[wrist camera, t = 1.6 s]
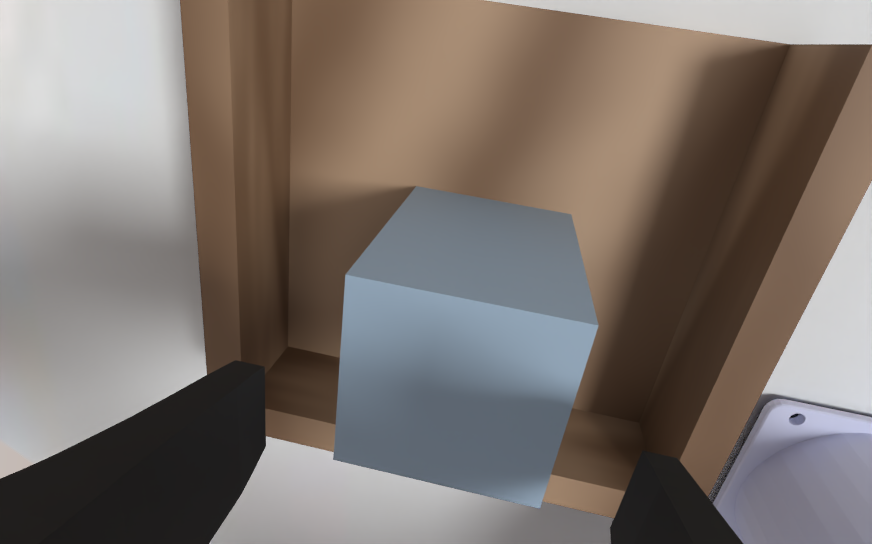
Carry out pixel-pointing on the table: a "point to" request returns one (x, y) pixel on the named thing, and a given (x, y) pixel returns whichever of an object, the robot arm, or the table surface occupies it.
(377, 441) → the slate block
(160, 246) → the table surface
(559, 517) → the table surface
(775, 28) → the table surface
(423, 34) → the walnut crate
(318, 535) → the table surface
